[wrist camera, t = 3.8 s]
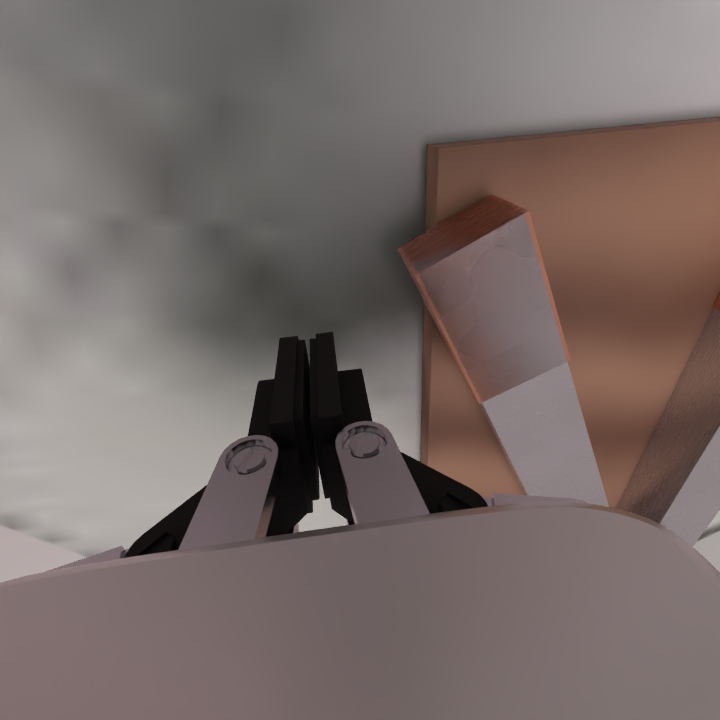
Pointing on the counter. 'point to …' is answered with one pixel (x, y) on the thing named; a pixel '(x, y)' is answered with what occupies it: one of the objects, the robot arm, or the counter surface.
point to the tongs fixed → (684, 447)
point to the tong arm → (508, 342)
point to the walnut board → (588, 280)
